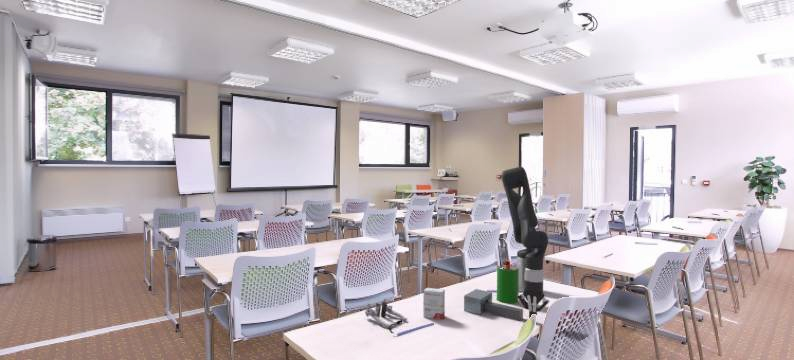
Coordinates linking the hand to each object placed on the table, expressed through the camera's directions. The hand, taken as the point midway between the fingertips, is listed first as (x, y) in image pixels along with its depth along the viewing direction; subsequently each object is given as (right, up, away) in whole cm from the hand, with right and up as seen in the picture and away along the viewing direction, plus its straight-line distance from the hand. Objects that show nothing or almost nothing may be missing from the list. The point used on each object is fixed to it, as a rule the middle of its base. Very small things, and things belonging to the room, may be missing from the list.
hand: (532, 319), depth 170 cm
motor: (-3, 0, +27) cm, 27 cm away
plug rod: (-12, -1, +9) cm, 15 cm away
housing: (-20, 0, +15) cm, 25 cm away
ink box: (-41, -1, +5) cm, 41 cm away
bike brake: (-60, -1, -1) cm, 60 cm away
